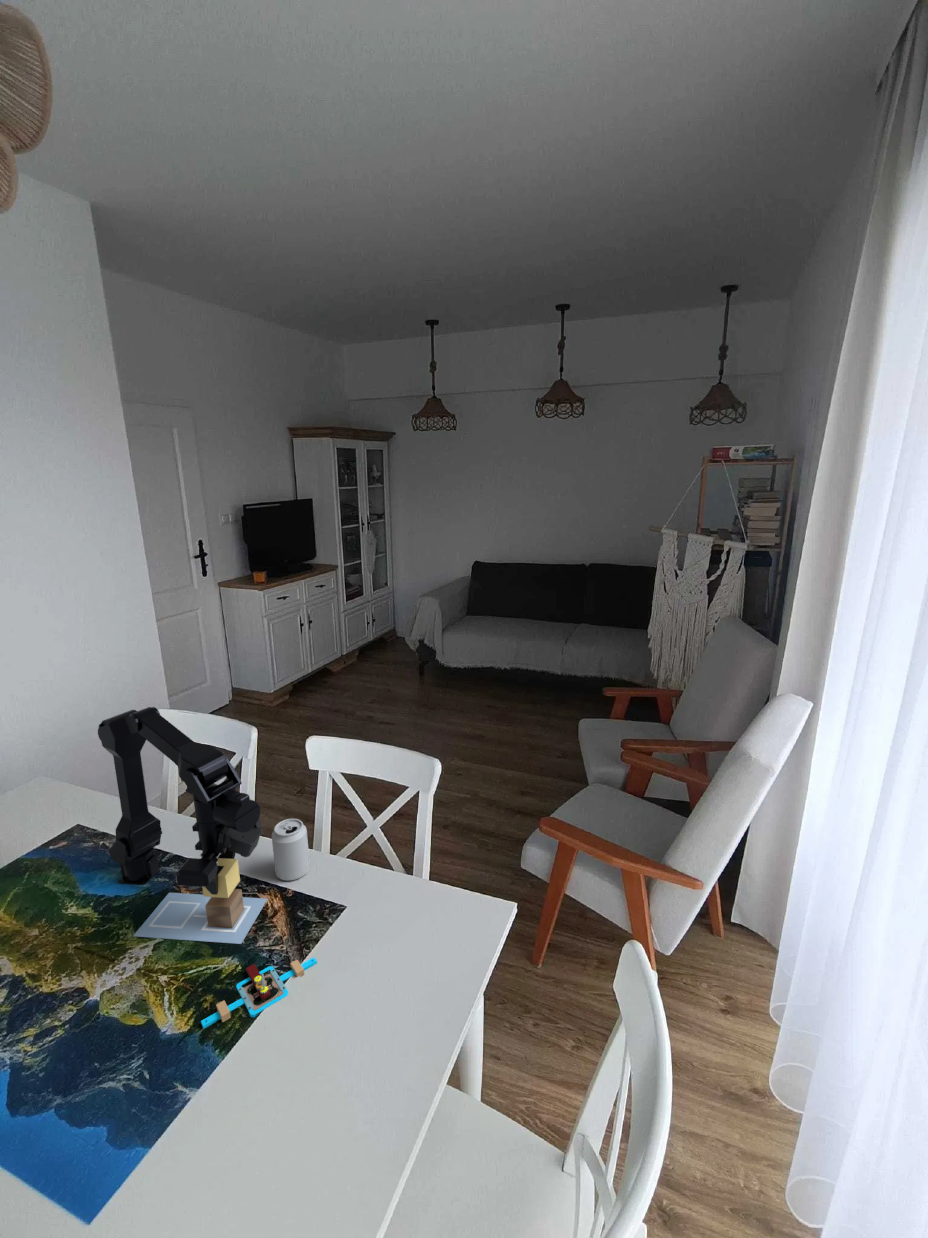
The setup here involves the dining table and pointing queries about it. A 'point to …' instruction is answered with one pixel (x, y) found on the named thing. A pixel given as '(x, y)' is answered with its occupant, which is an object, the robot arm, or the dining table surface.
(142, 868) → the robot arm
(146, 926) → the blueprint sheet
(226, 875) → the ochre block
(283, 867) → the can
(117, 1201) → the dining table surface
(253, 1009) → the gear mechanism
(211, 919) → the walnut cube
